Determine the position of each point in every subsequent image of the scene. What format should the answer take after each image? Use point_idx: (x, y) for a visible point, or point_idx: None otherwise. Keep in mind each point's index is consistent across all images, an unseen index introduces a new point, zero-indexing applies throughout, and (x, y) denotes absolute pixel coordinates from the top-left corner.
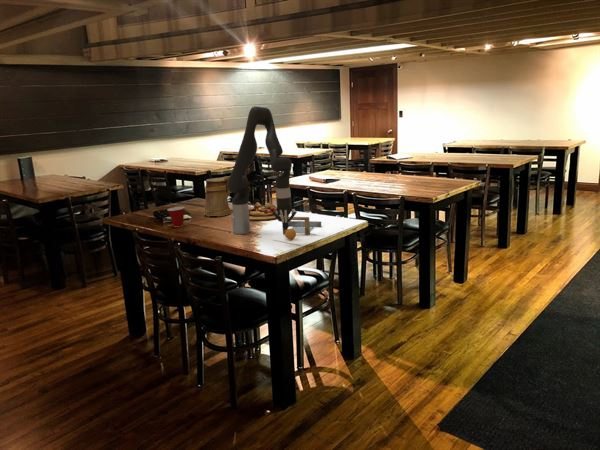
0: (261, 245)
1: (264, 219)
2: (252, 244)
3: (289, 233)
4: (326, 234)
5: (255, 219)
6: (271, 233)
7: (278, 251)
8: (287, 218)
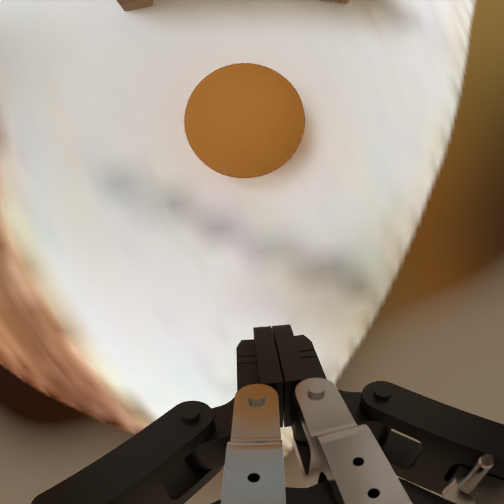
0: (92, 328)
1: None
2: (34, 312)
3: (253, 174)
4: (444, 7)
5: None
6: (39, 20)
7: None
8: (335, 428)
